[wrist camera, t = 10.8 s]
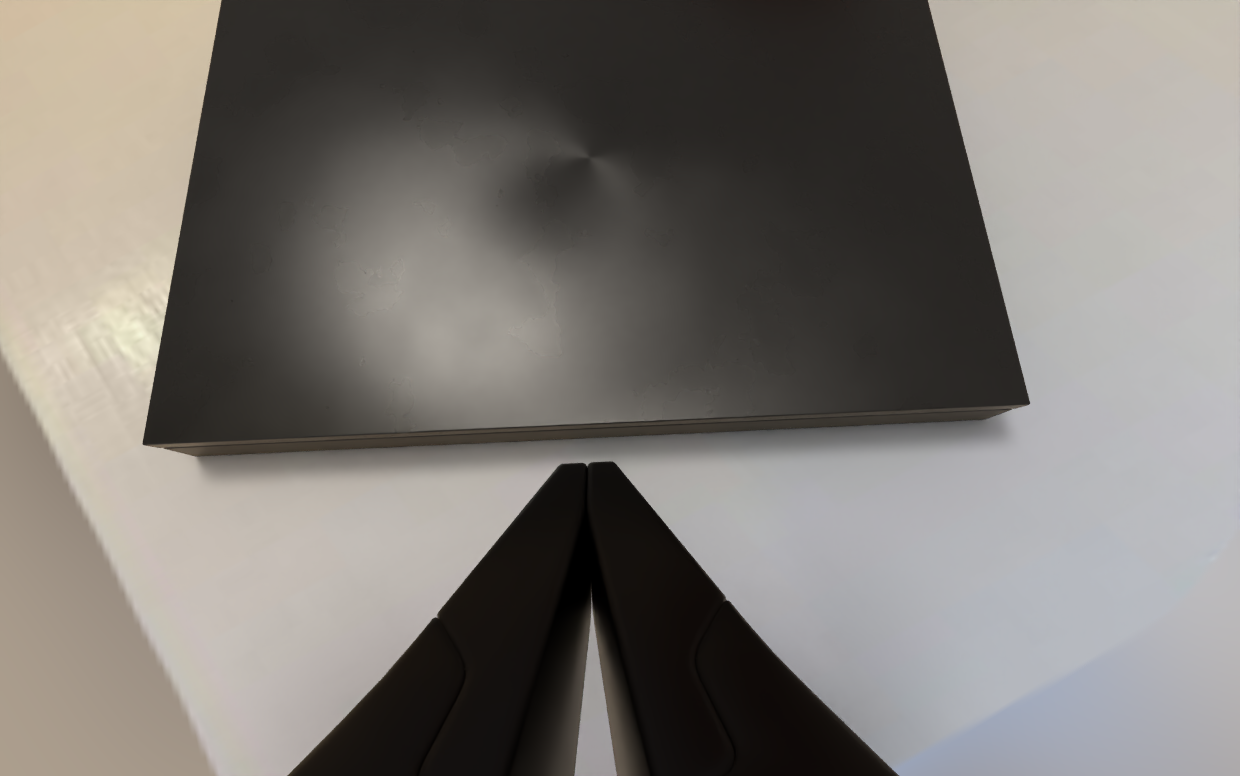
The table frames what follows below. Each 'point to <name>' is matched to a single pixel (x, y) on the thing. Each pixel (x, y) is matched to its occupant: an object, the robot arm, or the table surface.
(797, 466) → the table surface
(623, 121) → the laptop screen
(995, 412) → the laptop
